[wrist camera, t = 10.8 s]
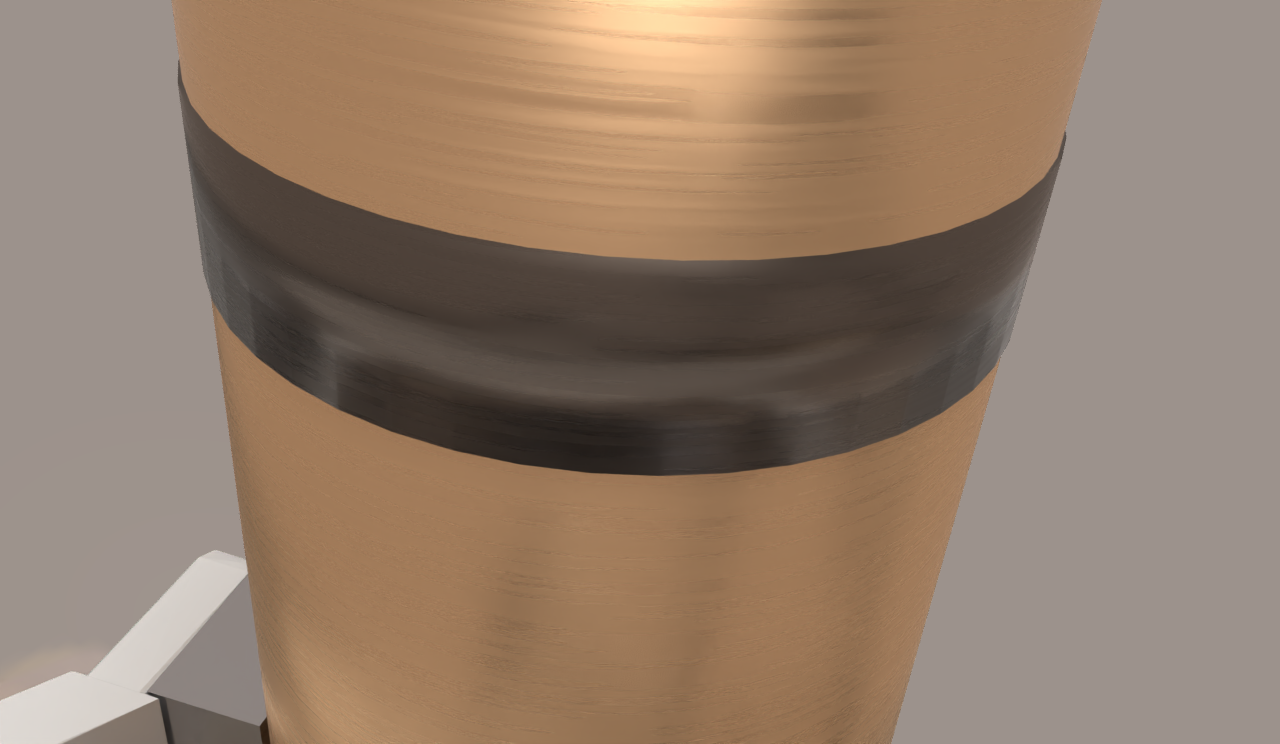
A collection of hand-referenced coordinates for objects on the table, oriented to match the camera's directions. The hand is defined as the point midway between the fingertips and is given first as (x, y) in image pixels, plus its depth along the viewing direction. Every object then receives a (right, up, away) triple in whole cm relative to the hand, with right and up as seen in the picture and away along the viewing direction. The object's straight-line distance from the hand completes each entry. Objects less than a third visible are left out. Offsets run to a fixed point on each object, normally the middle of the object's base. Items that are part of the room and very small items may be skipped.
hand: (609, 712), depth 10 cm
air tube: (-1, -10, +6) cm, 12 cm away
